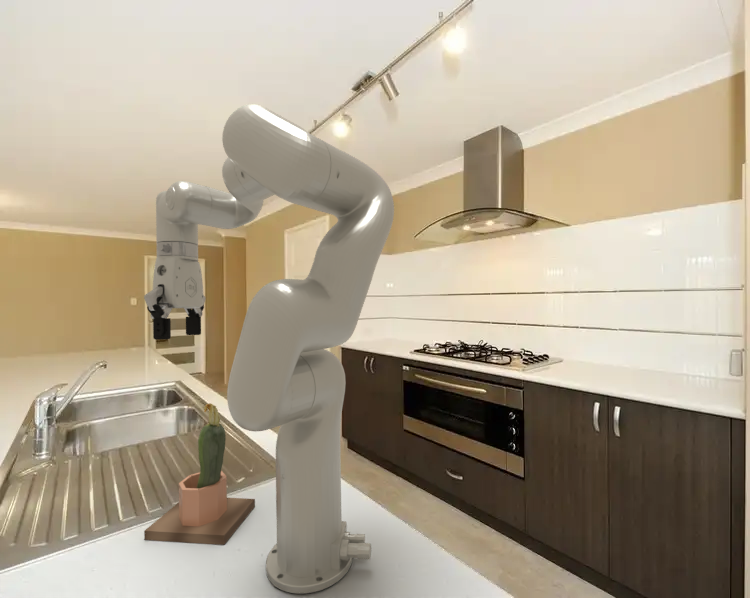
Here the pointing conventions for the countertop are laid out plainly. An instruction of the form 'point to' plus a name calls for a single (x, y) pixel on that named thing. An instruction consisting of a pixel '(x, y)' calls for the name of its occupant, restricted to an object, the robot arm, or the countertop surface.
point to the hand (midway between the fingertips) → (178, 336)
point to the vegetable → (211, 448)
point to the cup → (201, 501)
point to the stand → (205, 534)
